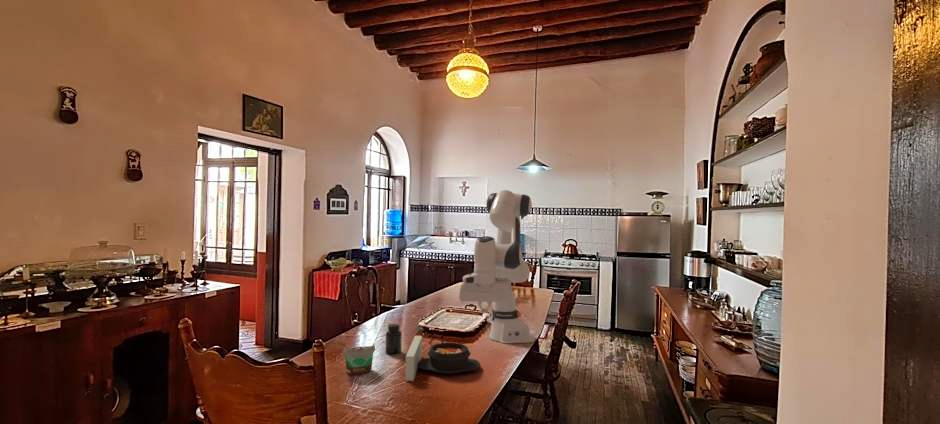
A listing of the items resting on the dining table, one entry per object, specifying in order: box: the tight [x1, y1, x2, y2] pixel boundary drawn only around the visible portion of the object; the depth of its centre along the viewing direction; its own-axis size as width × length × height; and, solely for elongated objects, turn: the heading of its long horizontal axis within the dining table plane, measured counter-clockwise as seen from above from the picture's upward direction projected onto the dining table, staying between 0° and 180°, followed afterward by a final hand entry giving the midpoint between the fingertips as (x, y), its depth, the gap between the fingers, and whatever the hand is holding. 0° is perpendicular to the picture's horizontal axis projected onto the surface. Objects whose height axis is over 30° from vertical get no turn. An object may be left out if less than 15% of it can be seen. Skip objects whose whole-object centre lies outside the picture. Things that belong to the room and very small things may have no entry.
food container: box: [342, 343, 376, 377], centre depth 168 cm, size 12×6×10 cm, turn 117°
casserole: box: [418, 342, 481, 375], centre depth 174 cm, size 25×19×8 cm
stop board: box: [404, 335, 423, 382], centre depth 175 cm, size 3×26×9 cm, turn 0°
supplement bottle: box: [385, 323, 403, 356], centre depth 193 cm, size 7×7×12 cm
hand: (484, 312), depth 174 cm, fingers closed
